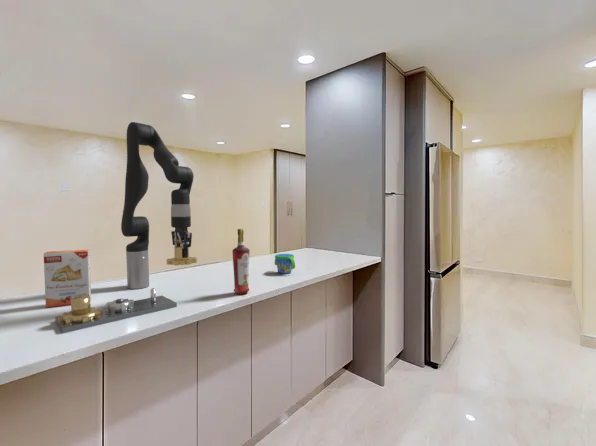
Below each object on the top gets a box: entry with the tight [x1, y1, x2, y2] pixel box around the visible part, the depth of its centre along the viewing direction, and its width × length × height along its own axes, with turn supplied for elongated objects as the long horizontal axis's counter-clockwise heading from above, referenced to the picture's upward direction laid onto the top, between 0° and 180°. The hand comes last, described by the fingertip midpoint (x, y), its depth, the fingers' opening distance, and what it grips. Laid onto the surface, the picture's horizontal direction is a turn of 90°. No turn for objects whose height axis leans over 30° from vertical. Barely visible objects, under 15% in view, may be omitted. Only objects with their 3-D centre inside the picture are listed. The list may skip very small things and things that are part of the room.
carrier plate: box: [54, 287, 178, 334], centre depth 112 cm, size 14×35×8 cm, turn 135°
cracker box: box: [43, 249, 92, 309], centre depth 123 cm, size 14×6×21 cm, turn 117°
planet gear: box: [166, 245, 198, 266], centre depth 129 cm, size 12×12×6 cm
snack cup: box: [274, 253, 296, 275], centre depth 178 cm, size 16×10×10 cm
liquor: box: [232, 228, 250, 295], centre depth 137 cm, size 7×7×28 cm
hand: (181, 256), depth 129 cm, fingers closed on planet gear, 5 cm apart
